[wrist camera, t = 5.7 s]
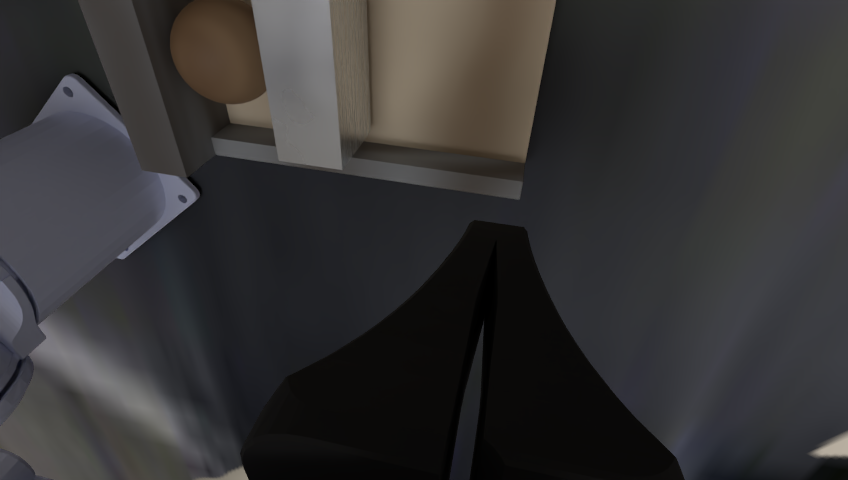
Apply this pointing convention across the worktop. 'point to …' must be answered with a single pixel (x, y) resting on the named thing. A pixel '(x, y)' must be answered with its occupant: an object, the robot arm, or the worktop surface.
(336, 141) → the grey rectangular block
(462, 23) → the wooden shadow box
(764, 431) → the worktop surface
